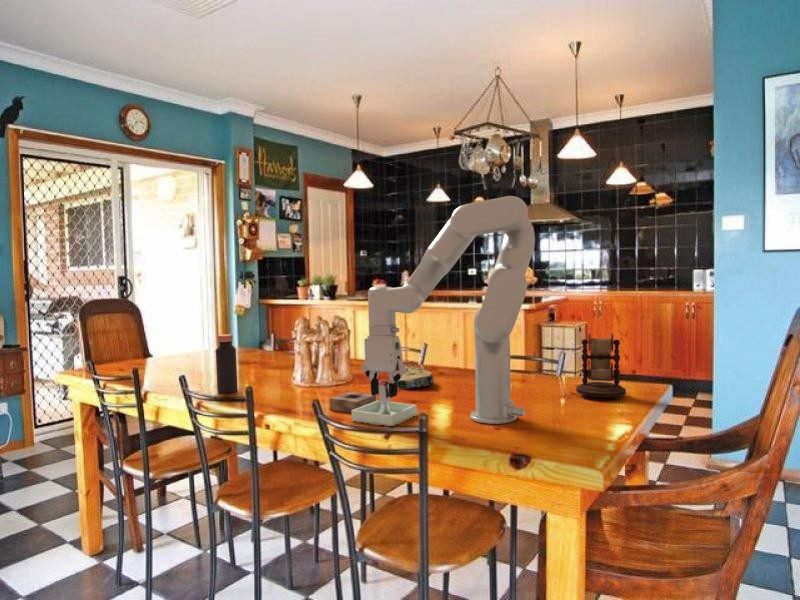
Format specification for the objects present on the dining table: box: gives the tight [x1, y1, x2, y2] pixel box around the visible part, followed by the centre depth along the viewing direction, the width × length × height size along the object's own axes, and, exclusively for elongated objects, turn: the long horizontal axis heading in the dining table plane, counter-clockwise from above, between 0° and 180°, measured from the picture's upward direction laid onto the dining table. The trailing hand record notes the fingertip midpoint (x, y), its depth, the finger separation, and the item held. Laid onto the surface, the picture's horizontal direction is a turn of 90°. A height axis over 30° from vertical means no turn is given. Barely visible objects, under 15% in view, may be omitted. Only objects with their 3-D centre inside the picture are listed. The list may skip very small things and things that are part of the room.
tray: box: [351, 399, 418, 427], centre depth 160 cm, size 13×13×3 cm
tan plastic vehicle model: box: [397, 364, 435, 390], centre depth 208 cm, size 14×6×30 cm
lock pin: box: [377, 379, 391, 415], centre depth 159 cm, size 3×3×10 cm
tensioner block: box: [329, 391, 377, 414], centre depth 172 cm, size 10×10×4 cm
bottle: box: [215, 333, 239, 394], centre depth 199 cm, size 7×7×20 cm
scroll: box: [575, 332, 627, 402], centre depth 179 cm, size 15×15×20 cm
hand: (384, 394), depth 159 cm, fingers open, 5 cm apart
